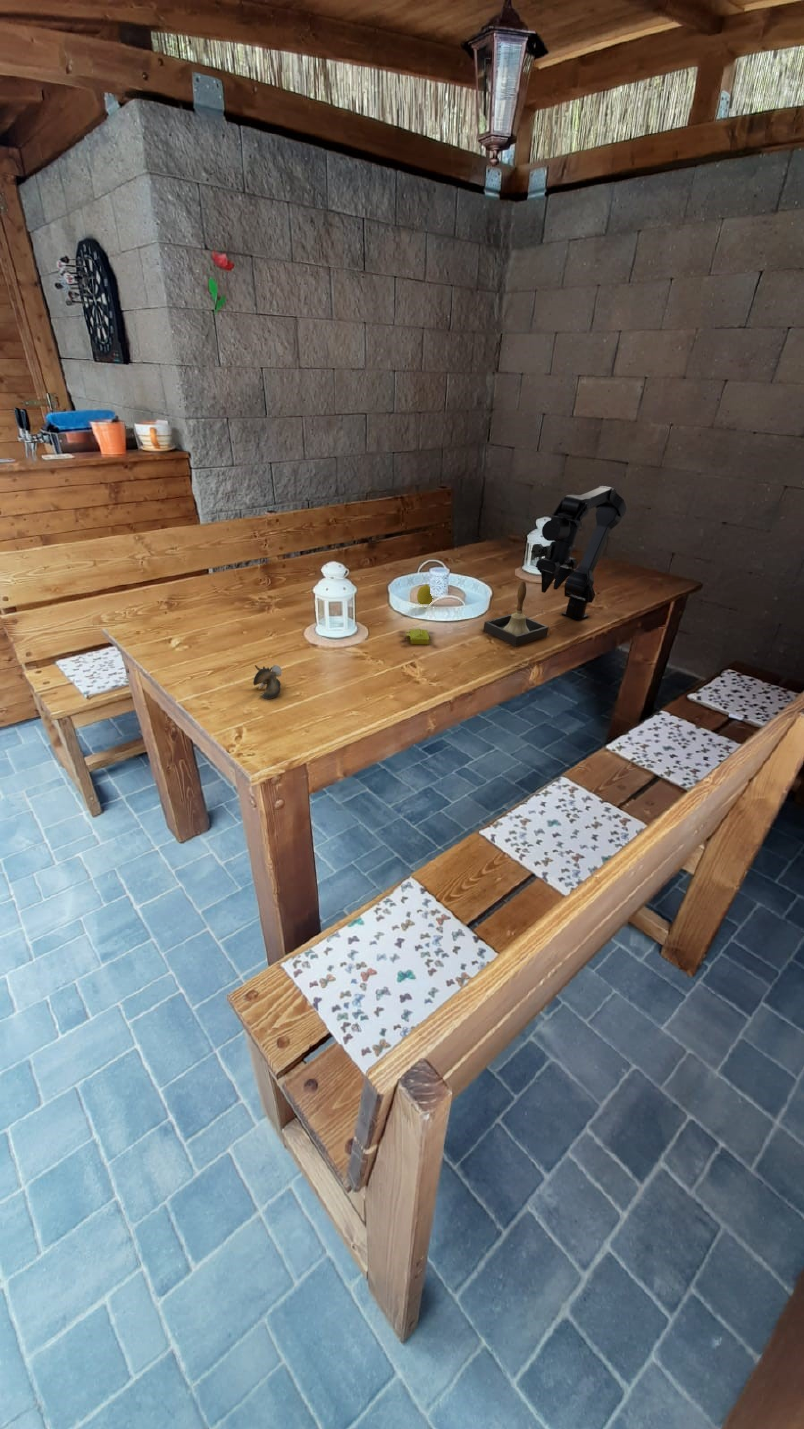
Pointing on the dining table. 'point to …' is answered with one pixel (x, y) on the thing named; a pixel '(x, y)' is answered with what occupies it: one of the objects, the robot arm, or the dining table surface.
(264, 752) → the dining table surface
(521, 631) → the hand bell
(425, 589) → the olive green oval piece
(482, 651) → the dining table surface
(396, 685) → the dining table surface
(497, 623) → the bin
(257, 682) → the dark creature figurine
